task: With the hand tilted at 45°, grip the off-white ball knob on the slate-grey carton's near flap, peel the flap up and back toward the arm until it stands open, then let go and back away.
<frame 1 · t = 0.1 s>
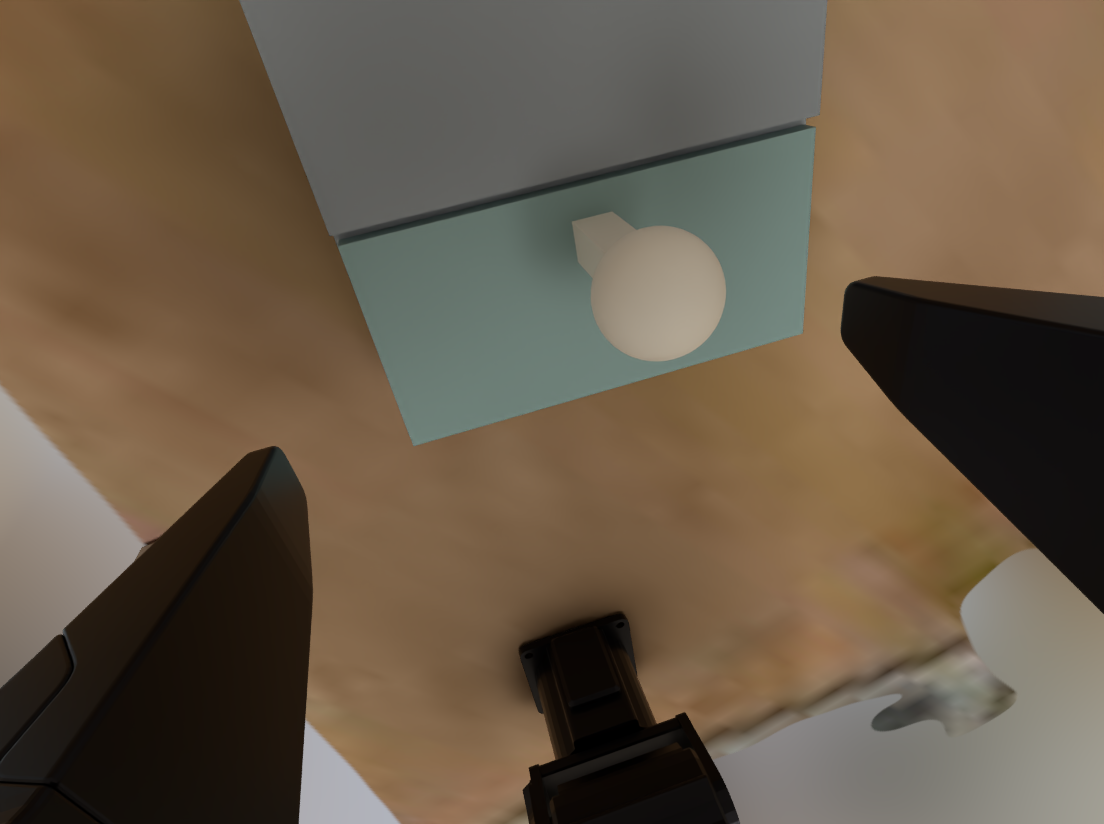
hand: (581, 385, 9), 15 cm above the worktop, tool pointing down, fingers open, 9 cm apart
near flap: (635, 333, 16), point 8 cm above the worktop, hinge at 0.0°
carton: (538, 141, 21), on the worktop
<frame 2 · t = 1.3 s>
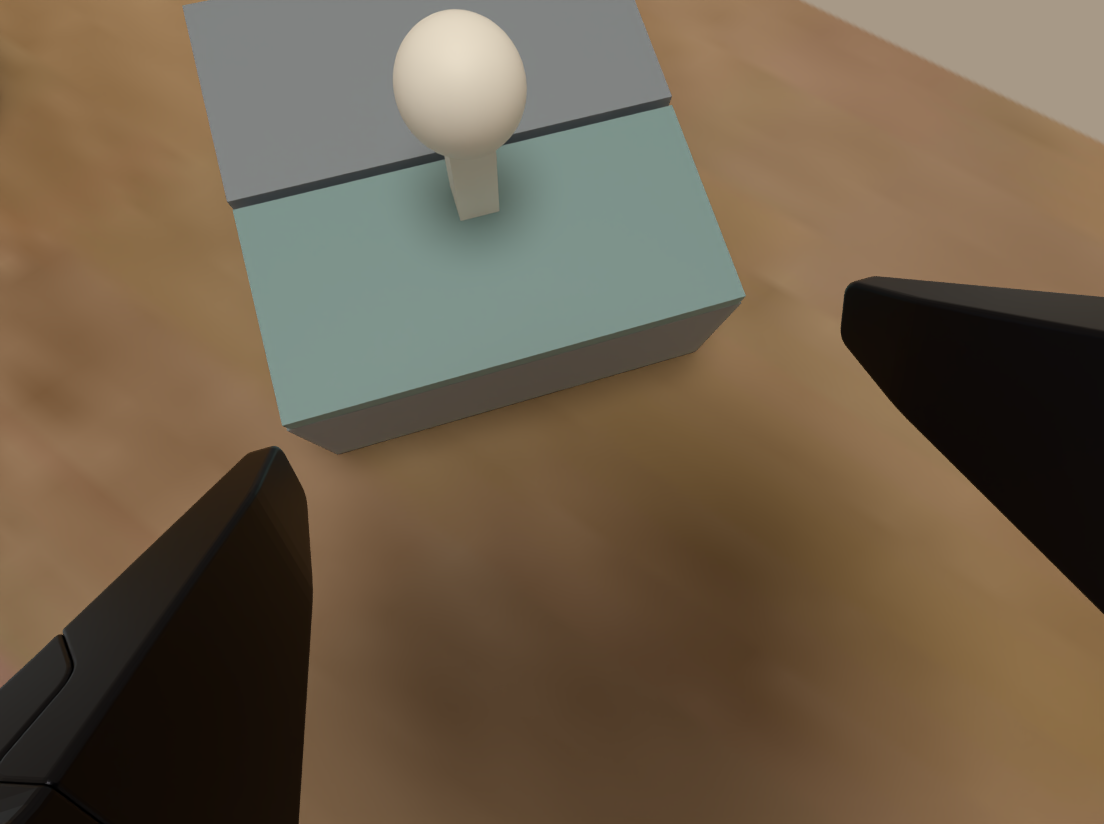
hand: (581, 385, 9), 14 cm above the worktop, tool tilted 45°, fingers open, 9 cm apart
near flap: (487, 203, 16), point 8 cm above the worktop, hinge at 0.0°
carton: (471, 235, 24), on the worktop
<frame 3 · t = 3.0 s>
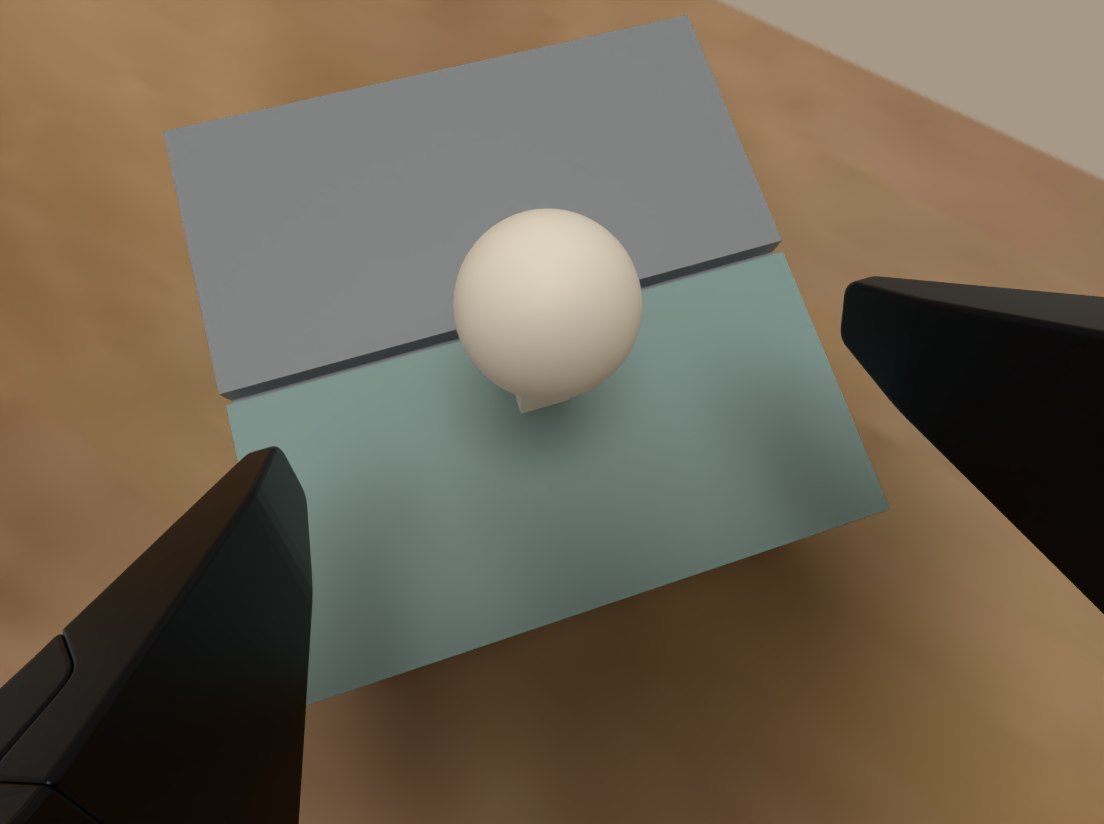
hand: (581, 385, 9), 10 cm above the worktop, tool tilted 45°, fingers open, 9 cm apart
near flap: (572, 436, 11), point 8 cm above the worktop, hinge at 0.0°
carton: (516, 376, 20), on the worktop
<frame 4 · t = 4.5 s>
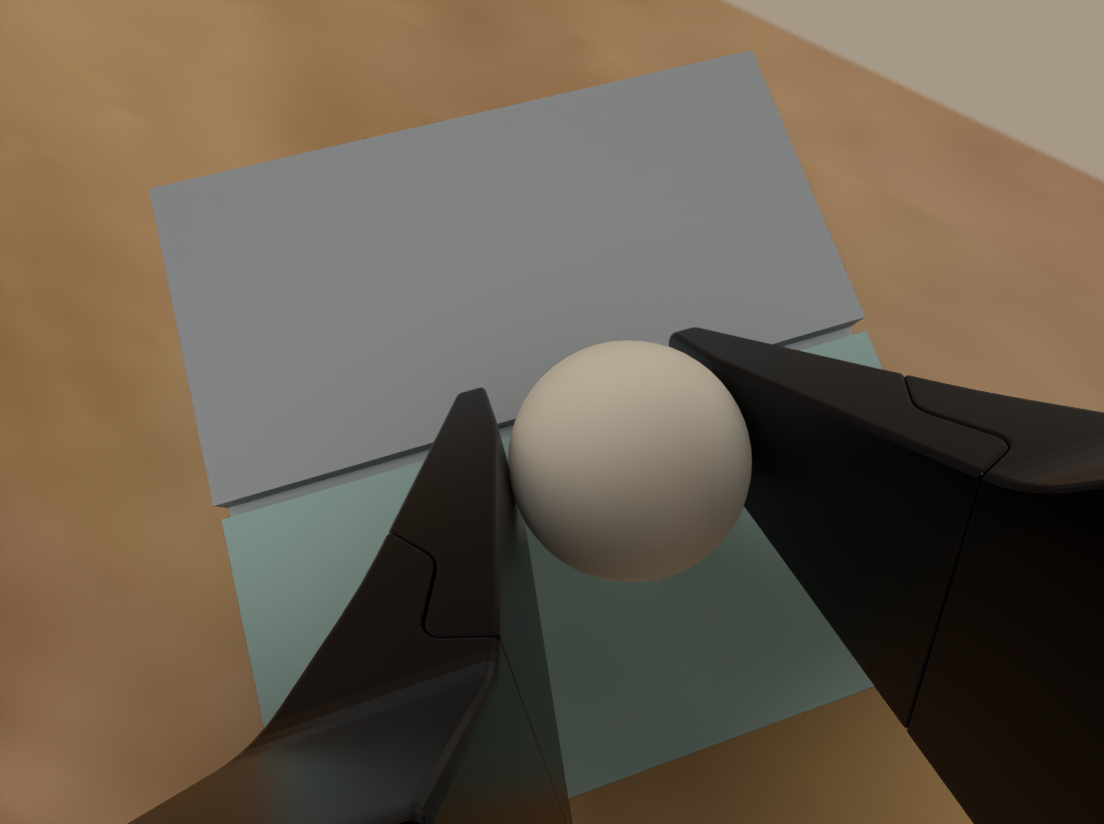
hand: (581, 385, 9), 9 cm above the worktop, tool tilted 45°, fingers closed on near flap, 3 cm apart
near flap: (644, 592, 9), point 8 cm above the worktop, hinge at 0.0°, touching gripper
carton: (546, 447, 18), on the worktop
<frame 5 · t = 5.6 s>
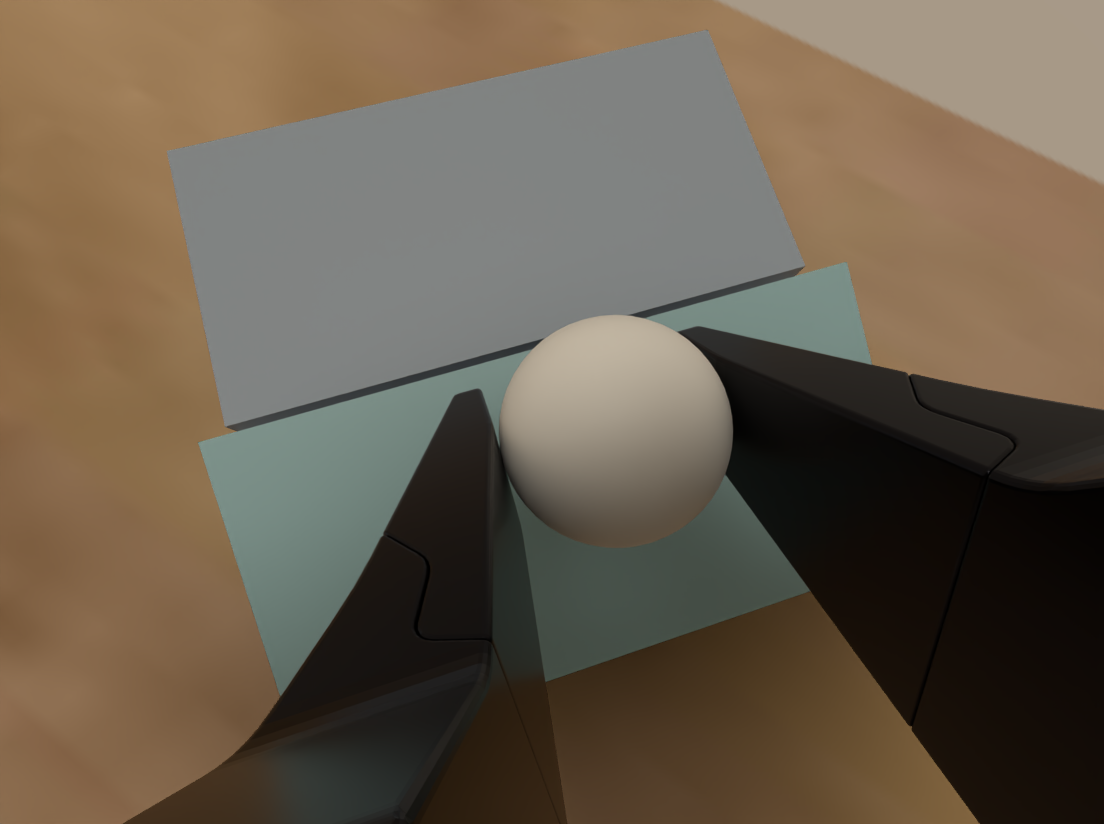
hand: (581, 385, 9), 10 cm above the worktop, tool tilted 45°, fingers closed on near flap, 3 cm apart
near flap: (617, 532, 10), point 9 cm above the worktop, hinge at 14.3°, touching gripper
carton: (527, 397, 20), on the worktop
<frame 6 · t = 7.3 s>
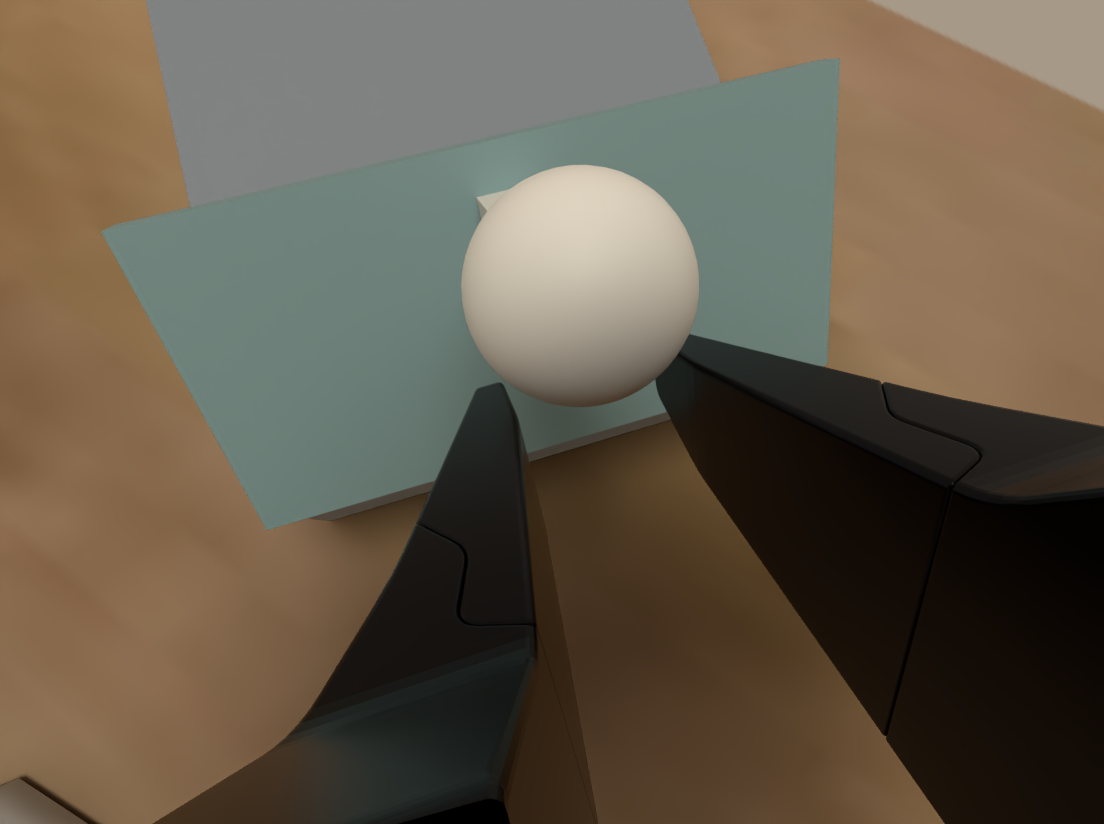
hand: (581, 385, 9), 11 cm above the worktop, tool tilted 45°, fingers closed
near flap: (567, 362, 10), point 10 cm above the worktop, hinge at 40.5°
carton: (486, 262, 21), on the worktop
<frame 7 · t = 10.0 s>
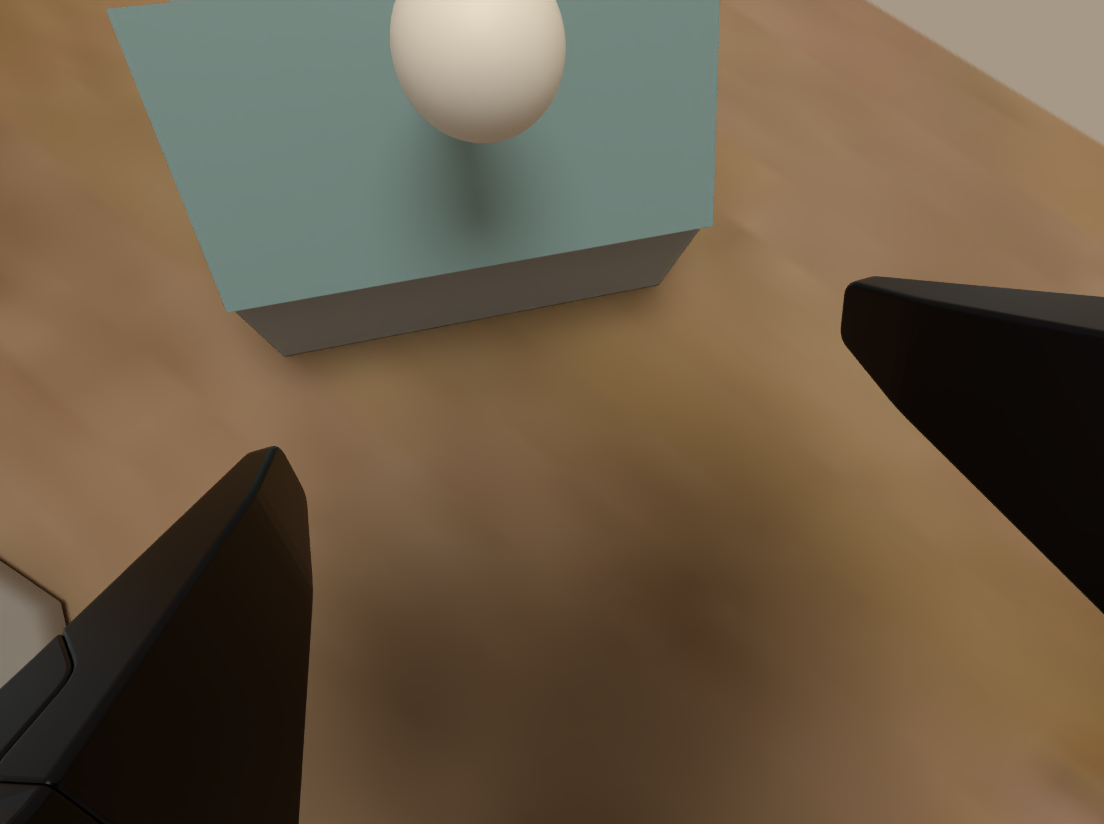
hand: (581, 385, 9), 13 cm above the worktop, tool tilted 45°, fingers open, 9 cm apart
near flap: (480, 150, 13), point 10 cm above the worktop, hinge at 40.5°
carton: (441, 149, 24), on the worktop
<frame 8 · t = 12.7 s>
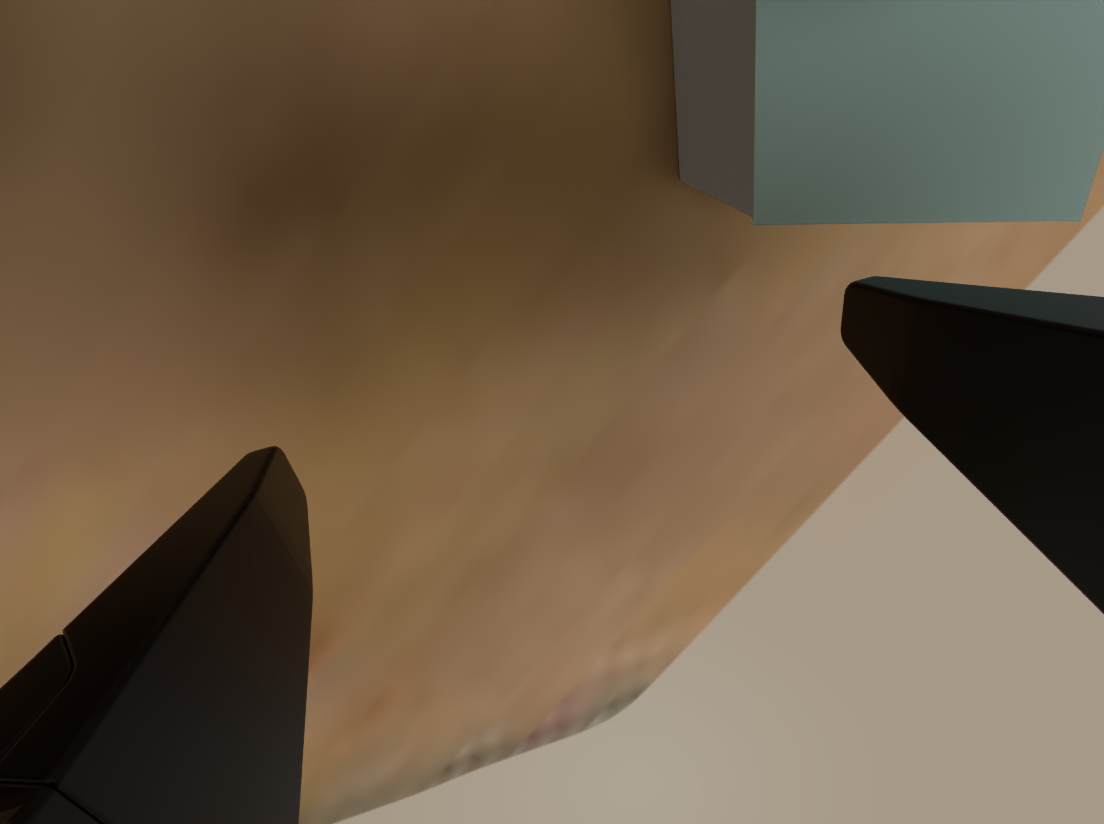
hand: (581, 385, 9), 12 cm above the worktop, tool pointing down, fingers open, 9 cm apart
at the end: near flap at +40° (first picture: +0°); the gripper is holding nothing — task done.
